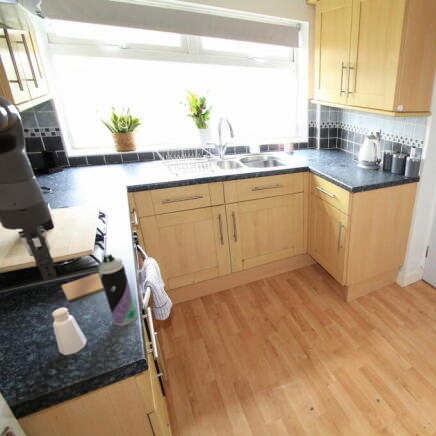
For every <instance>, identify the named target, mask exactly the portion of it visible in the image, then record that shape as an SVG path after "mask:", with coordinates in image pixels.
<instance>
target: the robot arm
mask: <svg viewBox="0 0 436 436" xmlns="http://www.w3.org/2000/svg"><path fill="white" fill-rule="evenodd" d="M24 132H25V131H24V125H23V123H22V118H21V116H20V114H19V111H18V110H17V108H16V106H14V104H13V103H12V102H11V101H10V100H9V99H8V98H6V97H4V96H2V95H0V225H1V227H2V228H4V229H6V230H11V231H12V230H13V231H16V230H19V231H17V233H18V235H19V238H20V240H21V242H22V244H23V245H25V248H26V250H27V253H28V255H29V256H30V257H33V259H34V261H35V262H34V264H35V266H37V267H38V269H39V271H40V274H41V277H42V279H43V280H44V281H48V280H52V279H55V278H57V277H58V276H57V275H58V273H57V271H56V269H55V267H54V264H53V263H54V257H52V255H51V253H50V252H51V250H52V249H51V248H52V247H51V246H50V243H49V241H48V234H47V232H46V230H45V229H44V226H43V225H42V224H45V223H47V222H49V221H50V219H51V218H52V214H51V212H50V210H49V207H48V204H47V201H46V199H45V195H44V193H43V190H42V187H41V185H40V183H39V181H38V180H37V178H36V176H35V172H34V171H33V167H32V164H31V162H30V159H29V157H28V155H27V151H26V139H25V133H24Z"/></svg>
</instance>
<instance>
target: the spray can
mask: <svg viewBox="0 0 436 436" xmlns="http://www.w3.org/2000/svg"><path fill="white" fill-rule="evenodd" d="M126 272H127V271H126V269H125V265H124V262H123V260H122V259H121V258H116V257H114V256H113V255H112V254H110V253H109V254H106V255H103V259H102V261H101V262H99V263H98V264H97V273H99V276H100V279H101V283H102V286H103V289H102V290H103V293H104V295H105V298H106V302H107V305H108V308H109V311H110V314H111V317H112V321H113V323H114V325H115V326H119V327H123V326H127V325H130V324H131V323H133V322H135V320H136V319H137V318H138V312H137V309H136V305H135V302H134V297H133V294H132V291H131V287H130V283H129V279H128V276H127V273H126Z"/></svg>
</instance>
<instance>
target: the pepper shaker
mask: <svg viewBox="0 0 436 436" xmlns="http://www.w3.org/2000/svg"><path fill="white" fill-rule="evenodd" d="M68 309H69V308H68V307H67V308H66V307H60V308H57V309H55V310H54V311H53V312H52V313H51V316H52V317H53V319H54V321H53V323H52V326H53V330H54V334H55V338H56V339H55V340H56V343H57V347H58V352H59V353H60V354H61V355H63V356H70V355H73V354H77V353H78V352H80V351H81V350H83V349H84V348H85V347H86V345H87V342H88V339H87V338H86V336H85V335H84V333H83V331H82V329H81V328H80V326H79V324H78V323H77V322H78V321H76V319H75V317H74V316H73V315H71V314H70V313H69V310H68Z"/></svg>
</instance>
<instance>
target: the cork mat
mask: <svg viewBox="0 0 436 436" xmlns="http://www.w3.org/2000/svg"><path fill="white" fill-rule="evenodd" d="M60 286H61V288H62V290H63V293H64V295H65V297H66V299H67V301H68V302H72V301H74V300H78V299H81V298H83V297H86V296H88V295H91V294H93V293H96V292H99V291H102V290H104V289H103V286H102V283H101V279H100V276H99V273H98V272H97V273H93V274H91V275H88V276H84V277H81V278H79V279H76V280H73V281H70V282H67V283H64V284H61V285H60Z"/></svg>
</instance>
